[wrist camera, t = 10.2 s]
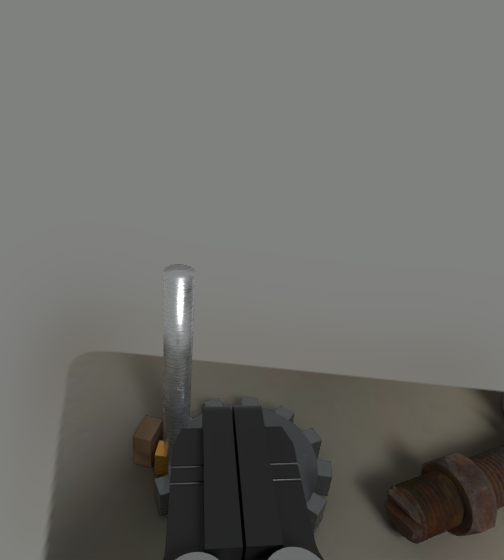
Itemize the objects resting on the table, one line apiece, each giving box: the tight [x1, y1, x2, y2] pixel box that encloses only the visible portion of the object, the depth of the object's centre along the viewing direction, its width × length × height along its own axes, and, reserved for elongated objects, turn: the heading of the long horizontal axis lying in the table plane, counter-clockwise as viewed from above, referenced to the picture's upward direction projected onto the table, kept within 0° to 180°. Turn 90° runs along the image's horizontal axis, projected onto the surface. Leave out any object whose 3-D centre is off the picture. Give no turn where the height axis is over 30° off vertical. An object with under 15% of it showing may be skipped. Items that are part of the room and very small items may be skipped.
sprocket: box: [155, 264, 332, 534], centre depth 26 cm, size 11×11×15 cm
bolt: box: [385, 445, 504, 543], centre depth 29 cm, size 6×5×15 cm
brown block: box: [133, 415, 163, 468], centre depth 30 cm, size 1×2×2 cm, turn 166°
